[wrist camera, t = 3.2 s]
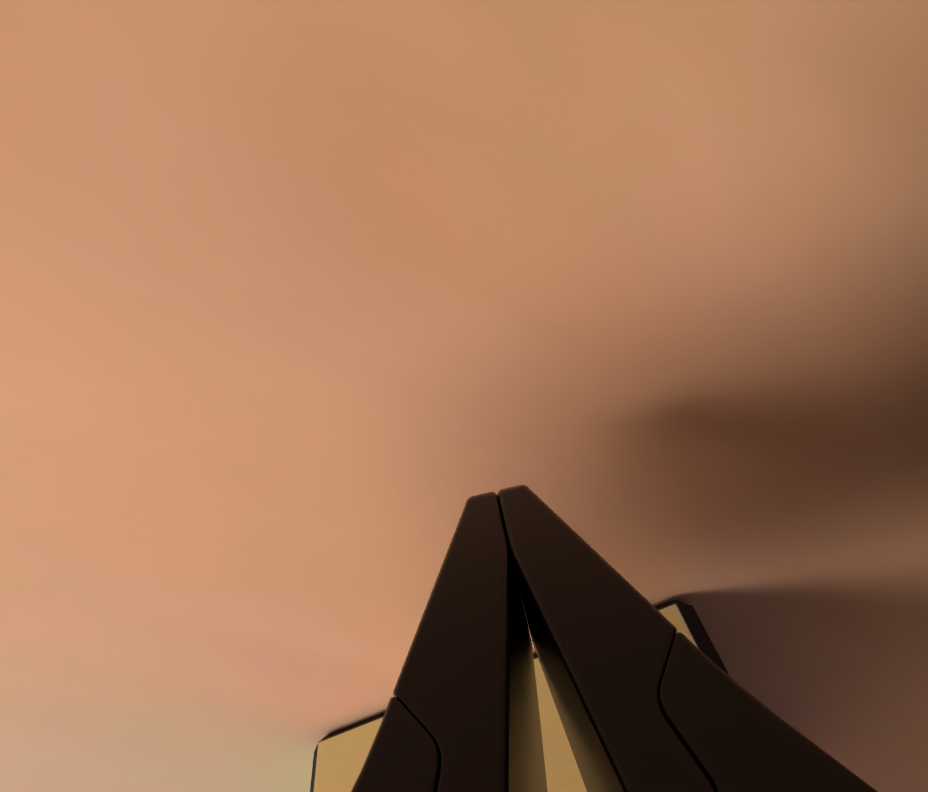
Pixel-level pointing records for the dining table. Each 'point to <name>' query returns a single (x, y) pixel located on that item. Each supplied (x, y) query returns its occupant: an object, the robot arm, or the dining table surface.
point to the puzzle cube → (350, 747)
